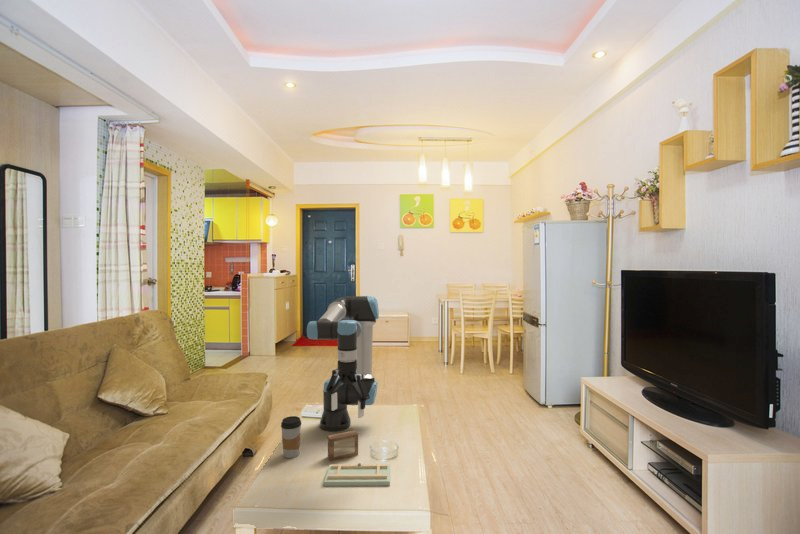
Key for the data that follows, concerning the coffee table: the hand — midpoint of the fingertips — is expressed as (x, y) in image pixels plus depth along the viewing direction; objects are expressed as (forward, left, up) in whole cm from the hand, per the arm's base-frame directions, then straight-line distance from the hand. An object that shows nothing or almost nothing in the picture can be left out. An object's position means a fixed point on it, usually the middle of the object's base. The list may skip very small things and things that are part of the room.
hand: (347, 413), depth 154 cm
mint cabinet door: (+6, +5, -22) cm, 23 cm away
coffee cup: (-11, -25, -22) cm, 35 cm away
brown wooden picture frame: (-10, -3, -22) cm, 24 cm away
